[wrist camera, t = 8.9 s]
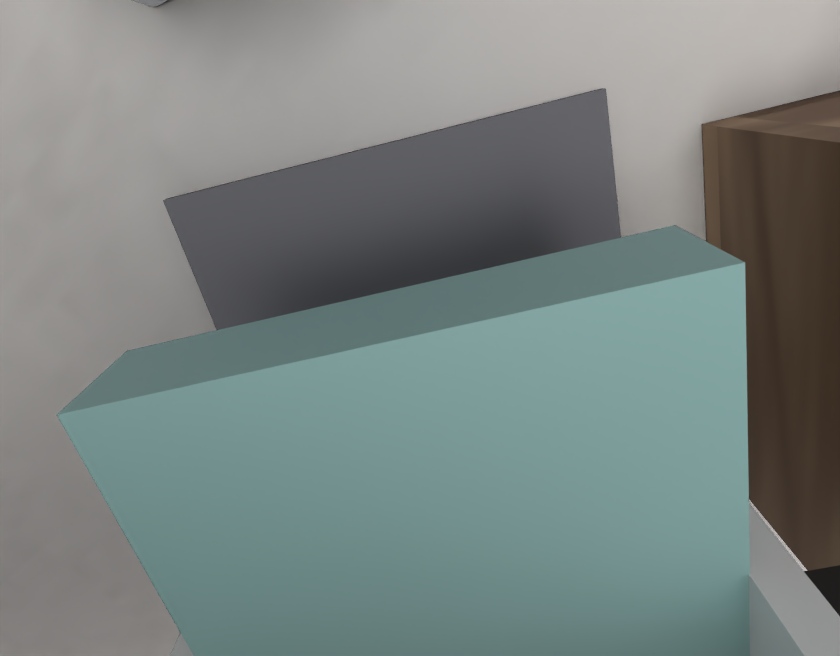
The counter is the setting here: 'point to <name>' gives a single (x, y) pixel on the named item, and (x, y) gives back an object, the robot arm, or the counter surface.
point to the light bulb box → (151, 2)
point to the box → (786, 307)
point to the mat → (403, 212)
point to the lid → (449, 464)
